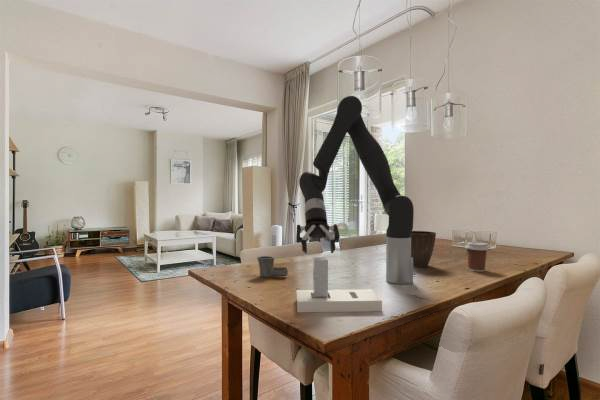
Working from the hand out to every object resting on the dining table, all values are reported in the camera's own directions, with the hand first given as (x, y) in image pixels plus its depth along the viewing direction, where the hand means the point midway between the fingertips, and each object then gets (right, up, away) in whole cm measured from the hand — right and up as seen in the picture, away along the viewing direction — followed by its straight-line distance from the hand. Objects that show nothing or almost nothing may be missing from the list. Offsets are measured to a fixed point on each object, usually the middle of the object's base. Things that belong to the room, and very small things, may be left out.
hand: (319, 251), depth 99 cm
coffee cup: (+73, -15, +41) cm, 85 cm away
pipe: (-18, -15, +29) cm, 37 cm away
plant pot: (+51, -15, +50) cm, 73 cm away
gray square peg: (0, -15, -6) cm, 16 cm away
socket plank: (+5, -15, -6) cm, 17 cm away
